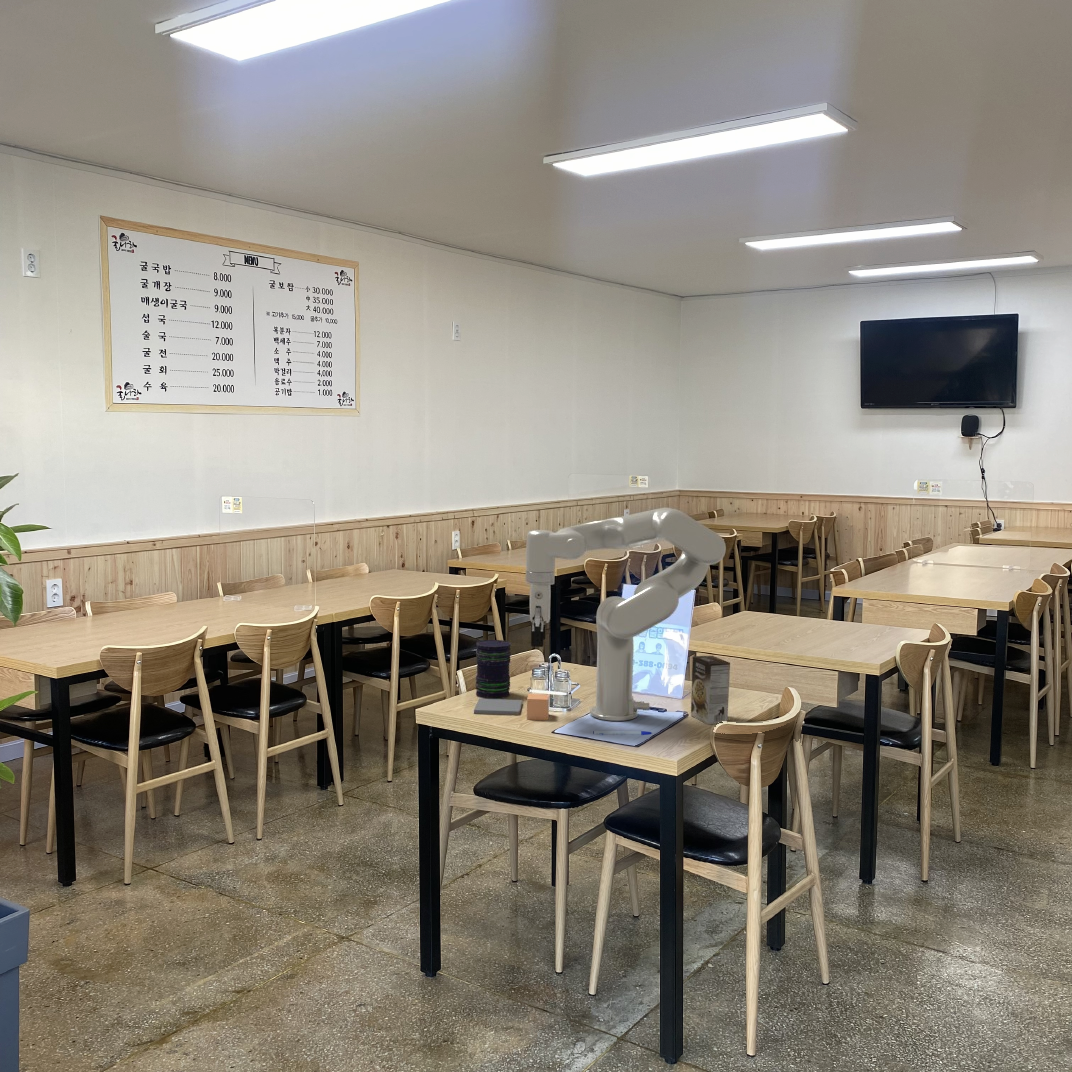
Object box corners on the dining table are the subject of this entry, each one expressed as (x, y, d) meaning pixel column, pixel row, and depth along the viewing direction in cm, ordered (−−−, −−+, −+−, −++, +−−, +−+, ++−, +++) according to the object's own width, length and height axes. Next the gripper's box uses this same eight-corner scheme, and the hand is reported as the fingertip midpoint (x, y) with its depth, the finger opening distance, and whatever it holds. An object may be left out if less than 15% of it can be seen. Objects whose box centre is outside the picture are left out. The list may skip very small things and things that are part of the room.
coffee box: (689, 715, 265) (691, 656, 263) (710, 713, 267) (712, 654, 266) (707, 724, 256) (709, 663, 255) (728, 722, 258) (730, 661, 257)
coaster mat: (522, 703, 274) (522, 700, 274) (519, 715, 262) (519, 711, 262) (478, 702, 275) (478, 698, 275) (473, 713, 263) (473, 710, 263)
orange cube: (548, 714, 263) (549, 694, 263) (547, 720, 258) (548, 699, 257) (528, 714, 264) (528, 693, 263) (526, 719, 258) (527, 698, 258)
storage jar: (494, 700, 276) (495, 648, 275) (468, 695, 282) (468, 643, 281) (517, 694, 284) (517, 642, 283) (490, 688, 290) (491, 638, 289)
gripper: (553, 582, 249) (551, 650, 250) (555, 574, 266) (553, 637, 267) (523, 581, 249) (521, 648, 251) (527, 573, 266) (525, 636, 268)
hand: (538, 642), depth 259 cm, fingers open, 9 cm apart
